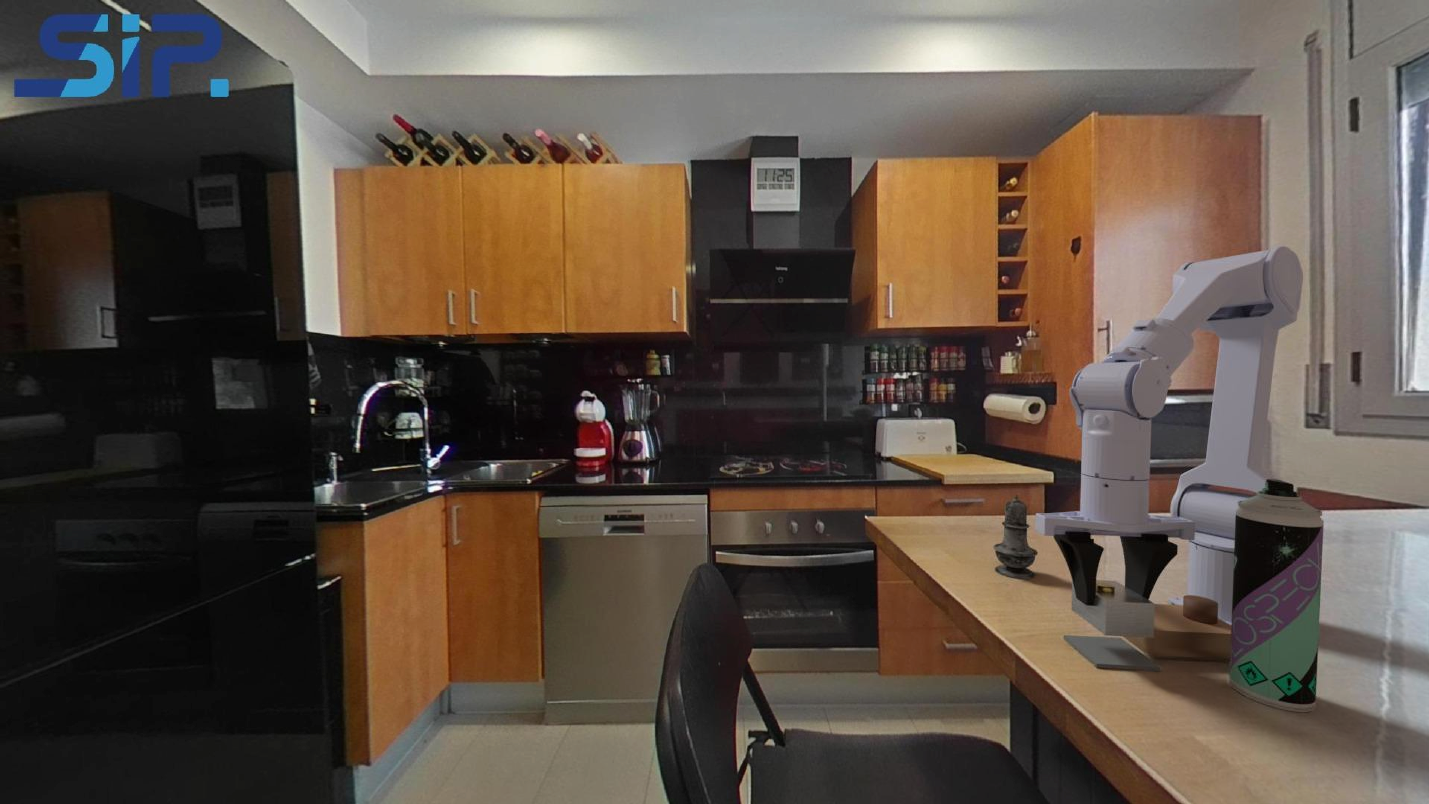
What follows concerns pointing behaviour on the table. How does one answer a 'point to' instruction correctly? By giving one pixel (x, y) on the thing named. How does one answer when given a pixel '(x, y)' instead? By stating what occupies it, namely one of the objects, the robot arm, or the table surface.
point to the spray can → (1276, 598)
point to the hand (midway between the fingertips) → (1110, 603)
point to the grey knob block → (1117, 611)
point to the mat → (1111, 653)
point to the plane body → (1188, 632)
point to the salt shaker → (1015, 543)
